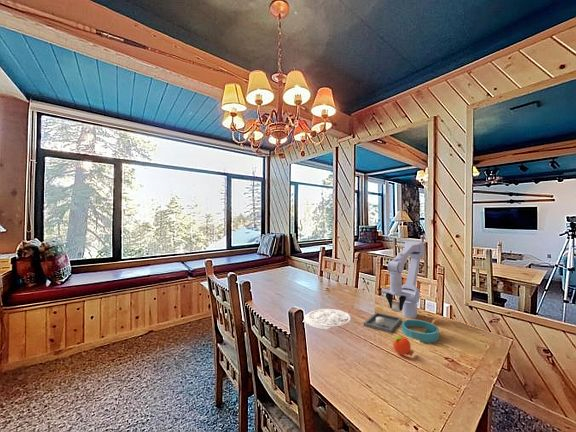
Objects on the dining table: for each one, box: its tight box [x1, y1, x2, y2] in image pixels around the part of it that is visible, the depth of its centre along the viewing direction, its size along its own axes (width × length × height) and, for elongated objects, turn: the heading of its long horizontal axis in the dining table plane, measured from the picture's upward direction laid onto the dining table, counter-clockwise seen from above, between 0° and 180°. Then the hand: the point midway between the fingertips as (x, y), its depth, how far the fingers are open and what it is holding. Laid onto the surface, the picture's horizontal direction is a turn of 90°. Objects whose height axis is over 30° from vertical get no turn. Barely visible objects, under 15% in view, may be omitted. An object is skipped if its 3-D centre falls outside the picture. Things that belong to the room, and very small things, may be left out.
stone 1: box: [376, 317, 385, 327], centre depth 135 cm, size 4×4×4 cm
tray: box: [363, 312, 403, 334], centre depth 138 cm, size 18×14×2 cm
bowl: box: [401, 319, 440, 344], centre depth 126 cm, size 16×16×4 cm
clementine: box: [392, 335, 412, 355], centre depth 110 cm, size 8×7×7 cm
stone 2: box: [391, 300, 401, 313], centre depth 137 cm, size 4×4×4 cm
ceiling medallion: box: [303, 308, 352, 331], centre depth 147 cm, size 28×28×3 cm
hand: (396, 308), depth 137 cm, fingers closed on stone 2, 4 cm apart
